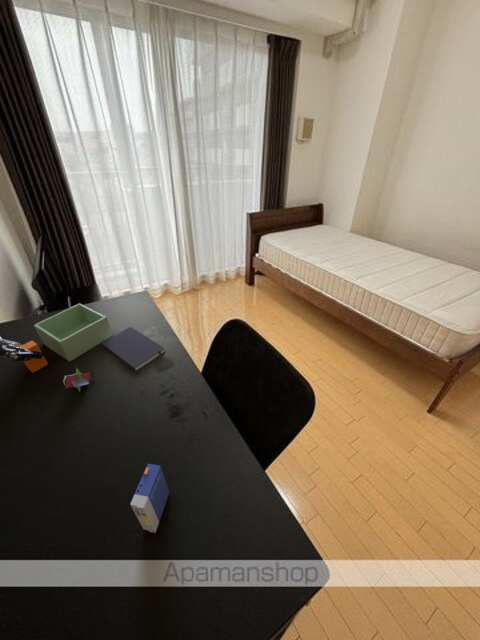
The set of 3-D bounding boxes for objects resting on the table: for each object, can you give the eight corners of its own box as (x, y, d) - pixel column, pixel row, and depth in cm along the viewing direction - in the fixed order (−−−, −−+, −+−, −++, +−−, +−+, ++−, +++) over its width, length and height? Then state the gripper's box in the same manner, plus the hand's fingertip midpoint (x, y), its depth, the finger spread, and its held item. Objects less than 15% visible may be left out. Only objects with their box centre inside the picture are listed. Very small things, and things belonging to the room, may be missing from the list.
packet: (27, 368, 96) (15, 348, 91) (43, 360, 99) (32, 340, 94) (33, 372, 94) (20, 352, 89) (48, 364, 98) (37, 344, 92)
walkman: (158, 490, 64) (147, 462, 57) (169, 492, 64) (160, 464, 57) (142, 531, 58) (128, 505, 51) (155, 533, 57) (142, 508, 50)
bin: (43, 343, 107) (33, 325, 101) (86, 321, 118) (79, 303, 113) (69, 361, 98) (59, 342, 93) (112, 335, 110) (106, 316, 105)
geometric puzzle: (92, 367, 93) (69, 360, 87) (100, 378, 89) (77, 372, 82) (78, 386, 92) (54, 380, 86) (86, 398, 88) (62, 393, 82)
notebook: (102, 345, 105) (135, 371, 94) (100, 342, 104) (134, 368, 93) (131, 329, 113) (165, 351, 102) (130, 326, 112) (165, 348, 101)
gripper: (-7, 341, 77) (54, 350, 93) (-28, 325, 84) (33, 335, 99) (-20, 367, 77) (45, 372, 92) (-39, 348, 83) (24, 355, 99)
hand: (38, 353), depth 95 cm, fingers closed on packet, 3 cm apart
